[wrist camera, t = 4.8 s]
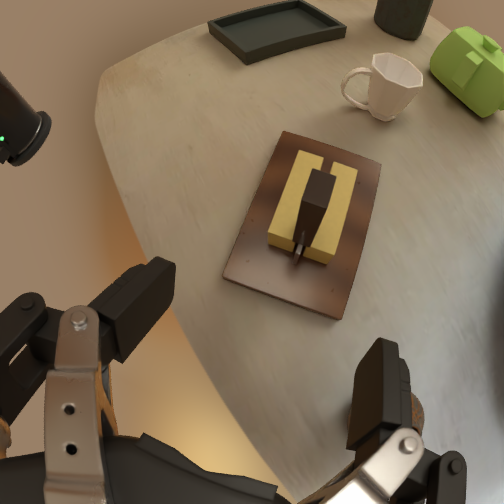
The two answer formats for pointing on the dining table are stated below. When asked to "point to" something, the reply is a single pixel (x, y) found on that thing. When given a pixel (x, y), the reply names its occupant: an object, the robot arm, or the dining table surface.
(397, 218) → the dining table surface
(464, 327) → the dining table surface
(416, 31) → the bottle
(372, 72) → the cup
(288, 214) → the butter
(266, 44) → the tray
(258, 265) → the board
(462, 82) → the teapot
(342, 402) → the dining table surface
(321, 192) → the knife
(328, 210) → the butter
